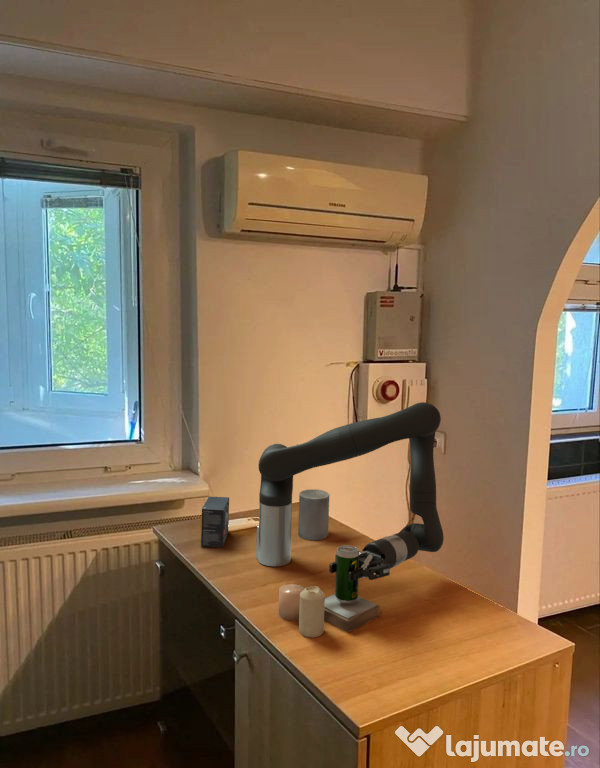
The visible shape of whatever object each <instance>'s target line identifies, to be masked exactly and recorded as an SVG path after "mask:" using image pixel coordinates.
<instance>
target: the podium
mask: <svg viewBox="0 0 600 768" xmlns="http://www.w3.org/2000/svg"><path fill="white" fill-rule="evenodd" d="M378 617H380V605H378V604H376V603H374V602H372V601H370V600H368V599H366V598H363V597H361V596H359V595H358V598H357V600H356V601H355V602H353V603H342V602H339V601H338V600H337V599H336V596H335V593H334V594H331V595H330V596H328V597H325V607H324V622H327V623H328V624H330V625H332V626H334V627H336V628H338V629H340V630H341V631H344V632H346V633H349V632H352V631H353V630H356V629H357V628H359V627H361V626H364V625H365V624H367V623H369V622H370V621H374V620H375V619H377V618H378Z"/></svg>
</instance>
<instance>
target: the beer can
mask: <svg viewBox="0 0 600 768" xmlns="http://www.w3.org/2000/svg"><path fill="white" fill-rule="evenodd" d="M335 555H336V572H335V578H334V579H335V580H334V581H335V586H334V588H335V590H334V594H335V596H336V599H337V600H338V601H339V602H342V603H353V602H355V601H356V600H357V598H358V596H359V580H360V578H359V579H357V580H354V581H352V582H351V581H349V580H348V573H349V572H350V571H352V570H354V569H357V568H359V548H358V547H356V546H354V545H348V544H346V545H345V544H343V545H340V546H338V547H337V548H336V552H335Z"/></svg>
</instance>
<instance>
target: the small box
mask: <svg viewBox="0 0 600 768" xmlns="http://www.w3.org/2000/svg"><path fill="white" fill-rule="evenodd" d="M207 497H208V498H207V500H206V501H205V502H204V504H203V506H202V507H201V529H200V530H201V534H200V547H202V548H223V547H224V545H225V542H226V539H227V536H228V535H227V534H229V527H228V525H229V522H230V521H229V520H230V519H229V518H230V517H229V516H230V515H229V514H230V497H227V496H225V497H224V496H207Z"/></svg>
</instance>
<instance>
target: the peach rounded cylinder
mask: <svg viewBox="0 0 600 768" xmlns="http://www.w3.org/2000/svg"><path fill="white" fill-rule="evenodd" d="M304 589H305V587H303V586H302V585H299V584H295V583H290V584H289V583H288V584H284V585H283V584H282V585H281V586H280V587H279V588H278V616H279V618H281V619H283V620H286V621H299V610H300V593H301V592H302V591H303V590H304Z"/></svg>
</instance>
